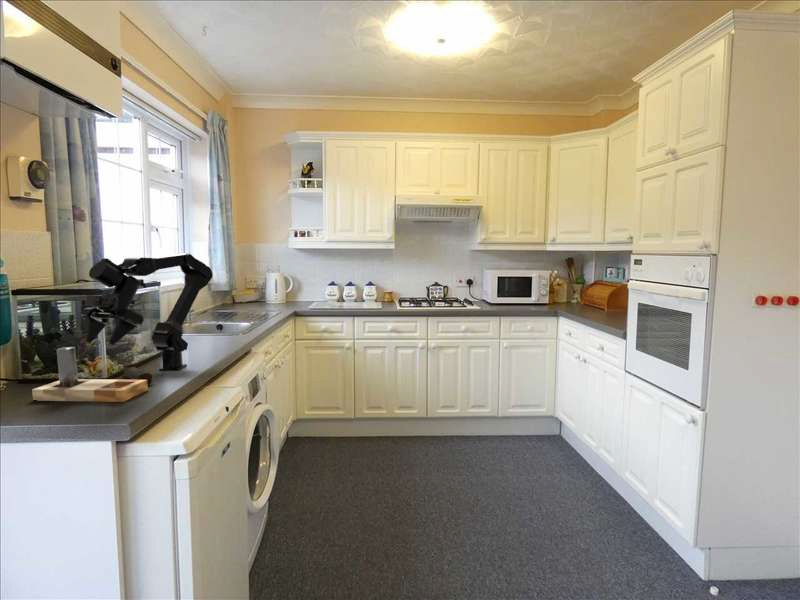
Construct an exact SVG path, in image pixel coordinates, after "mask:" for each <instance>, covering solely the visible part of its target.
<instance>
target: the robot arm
mask: <svg viewBox="0 0 800 600" xmlns="http://www.w3.org/2000/svg"><path fill="white" fill-rule="evenodd" d="M175 267H179V268H180V271H181V273H183V274H184V275H185V276H184V283H185V285H184V287H183V289H182V291H181V293H180V294H179V296H178V299H177V301H176V302H175V304H174V306H173V308H172V309H171V312H170V314H169V315H168V317H167V319H166V320H165V321H163V322H162V321H159V322H157V323H156V325H155V328H153V329H154V330H152V331H151V333H152V336H151V341H152V344H153V345H154V348H155V349H156V351H158V352H159V351H161V359H162V360H161V361H162V362H161V363H162V367H160V368H158V371H178V370H181V369H182V368H185V367H187V366H188V364H186V363H183V352H184V351H187V349H188V346H189V343H188V342H187V341H186V340H185V339H184V338H183V333H184V331H183V324H184V322H185V320H186V318H187V316H188V315H189V312H190V310H191V309H192V306H193V304H194V302H195V301H196V298H197V297H198V294H199V293H200V291H201V290H202V289H204V288H205V287H207V285H208V284H209V283H210V281H211V280H212V279H213V276H214V275H213V271H212V269H211V267H210V266H208V265H206V263H204V262H203V261H201V260H200V259H197V258H195V257H194V256H193V255H192V254H190V253H178V254H177V253H176V254H173V255H165V256H158V257H126V258H125V259H123V261H122V262H121V263H120V264H116V263H114V262H113V261H112V260H111V259H109V258H106V257H105V258H101V259H100V260H99V261H98V262H96V263H95V264H94V265H93V266H92V267H91V268H90V270H88V271H89V273H88V276H89V278H91V279H92V280H95V281H96V282H97V283H100V284H102V285H103V286H105V287H107V288H113V289H112V291H111V292H103V293H102V294H101V295H96V294H95V295H94V294H93V295H91V294H86V295H85V304H84V307H85V308H83V309H82V311H81V312H80V316H81V317H82V319H83V320H85V322H86V325H87V326H86V327H87V328H86V339H85V341H86V342H85V343H88V344H91V343H92V342H93V341H94V340H95V339H96V337H98V336H99V334H101V332H102V331H103V329H104V328H105V327H106V326H107V324H106V323H107V322H108V321H109V320H114V324H115V325H114V327H113V331H112V333H111V336H110V338H109V341H108V344H109V345H111V346H114V345H115V344H116V343H118V342H119V341H120V340H121V339H122V338H124V337H126V336H127V334H129V333H130V332H132V331H133V330H135V329H137V328H138V326H142V325H143V323H144V320H145V319H144V316H143V315H142V314H140V313H139V312H136V311H135V310H132V309H130V306H135V304H136V302H135V301H134V298H135V296H136V294H137V292H138V290H139V289H146V288H147V285H146V283H145V281H144V279H141V278H136V277H146V276H149V275H151V274H154V273H155V272H157V271H159V270H164V269H169V268H175Z"/></svg>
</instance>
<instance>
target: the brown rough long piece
mask: <svg viewBox="0 0 800 600" xmlns="http://www.w3.org/2000/svg"><path fill="white" fill-rule="evenodd" d="M122 367H123V373H124V377H125V378H126V379H130V380H147V383H148V386H149V385H151V384H152V380H153V374H152V373H150V372H146V371H145V370H141V369H139V368H137V367H136V366H135V364H134V363H133V362H131V361H130V362H129V361H125V362H123V364H122Z"/></svg>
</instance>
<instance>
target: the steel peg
mask: <svg viewBox="0 0 800 600" xmlns="http://www.w3.org/2000/svg"><path fill="white" fill-rule="evenodd" d="M56 355H57V368H58V369H57V370H58V379H59V380H58V381H60V388H71V387H74V386H76V385H78V379H79V378H78V364H77V353H76V347H75V346H67V347H66V346H65V347H59V348H57V349H56Z"/></svg>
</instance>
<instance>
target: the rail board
mask: <svg viewBox="0 0 800 600" xmlns="http://www.w3.org/2000/svg"><path fill="white" fill-rule="evenodd" d="M147 391H149V385H148V383H147V380H133V379H117V378H116V379H112V378H111V379H104V378H102V379H101V378H86V379H85V378H78V385H76V386H74V387H71V388H60V381H59V380H57V381H53V382H51V383H48V384H44V385H42V386H38V387H35V388H33V389H32V390H31V394H32V401H33V400H37V401H38V402H40V401H41V402H44V401H46V402H47V401H49V402H100V403H101V402H108V403H109V402H113V403H114V402H115V403H117V402H118V403H119V402H120V403H121V402H126V401H128V400H130V399H132V397H133V398H135V397H137V396H138V395H141V394H143V393H145V392H147ZM134 396H135V397H134ZM37 401H36V402H37Z"/></svg>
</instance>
